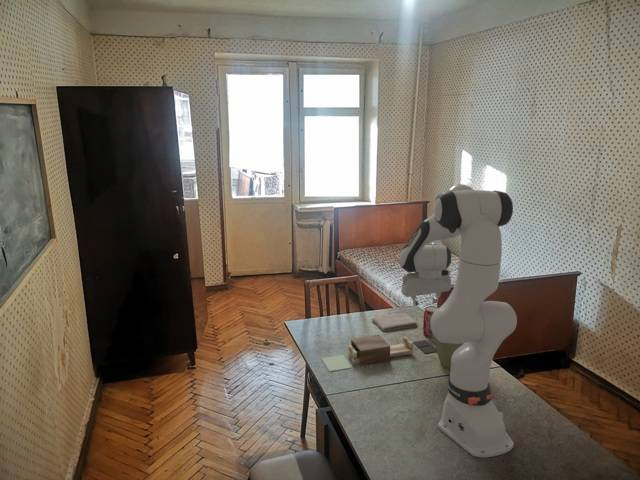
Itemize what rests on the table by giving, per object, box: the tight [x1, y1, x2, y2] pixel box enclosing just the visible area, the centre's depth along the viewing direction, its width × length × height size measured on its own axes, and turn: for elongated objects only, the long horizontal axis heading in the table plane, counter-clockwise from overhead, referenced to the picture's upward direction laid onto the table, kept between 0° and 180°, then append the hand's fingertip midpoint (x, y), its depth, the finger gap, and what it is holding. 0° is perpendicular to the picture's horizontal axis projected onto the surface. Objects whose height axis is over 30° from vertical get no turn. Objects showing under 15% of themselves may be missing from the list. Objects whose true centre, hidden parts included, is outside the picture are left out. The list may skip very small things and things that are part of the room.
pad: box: [321, 354, 353, 373], centre depth 177 cm, size 10×9×1 cm
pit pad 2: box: [419, 345, 437, 355], centre depth 186 cm, size 5×6×1 cm
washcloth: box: [371, 312, 418, 333], centre depth 210 cm, size 12×18×3 cm, turn 109°
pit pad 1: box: [413, 339, 432, 349], centre depth 191 cm, size 5×6×1 cm
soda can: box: [422, 305, 439, 338], centre depth 198 cm, size 7×7×12 cm
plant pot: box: [432, 335, 463, 369], centre depth 174 cm, size 15×15×16 cm
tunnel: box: [350, 334, 391, 367], centre depth 180 cm, size 10×12×6 cm
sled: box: [347, 335, 414, 364], centre depth 182 cm, size 6×25×5 cm, turn 107°
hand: (425, 303), depth 183 cm, fingers open, 7 cm apart
